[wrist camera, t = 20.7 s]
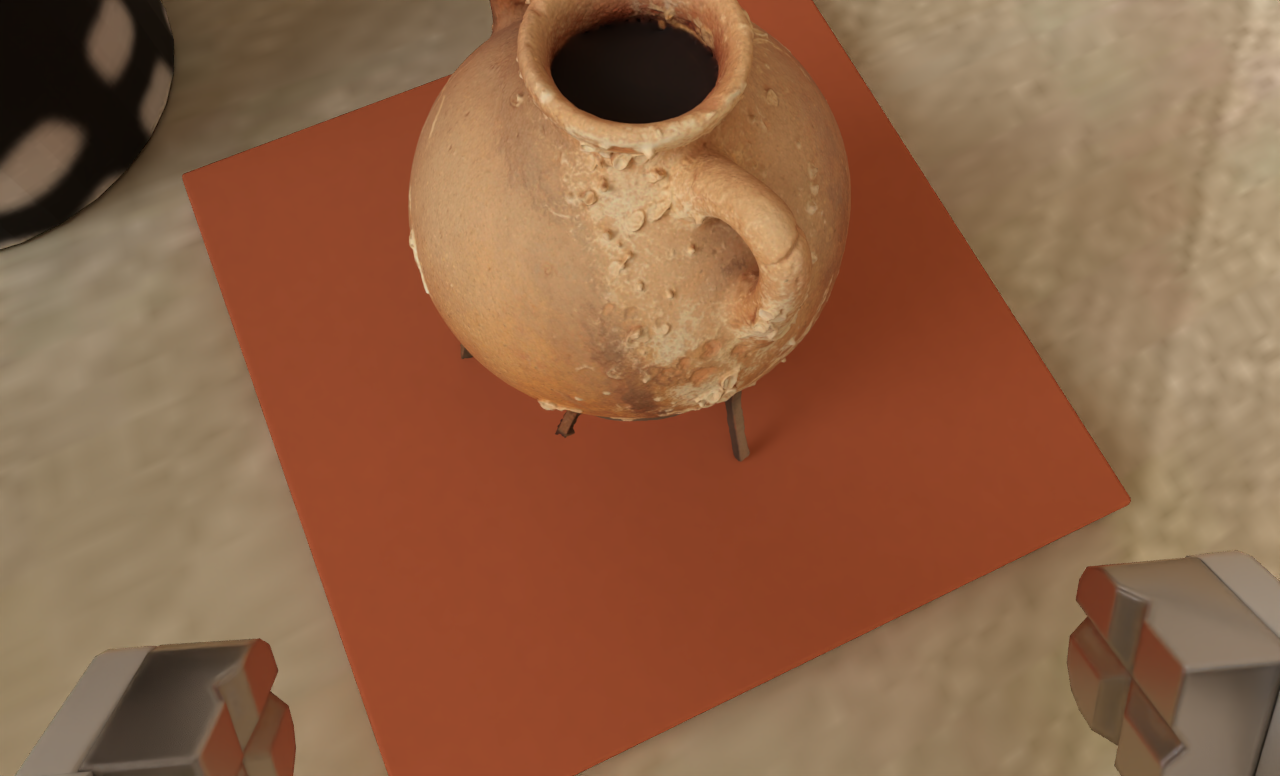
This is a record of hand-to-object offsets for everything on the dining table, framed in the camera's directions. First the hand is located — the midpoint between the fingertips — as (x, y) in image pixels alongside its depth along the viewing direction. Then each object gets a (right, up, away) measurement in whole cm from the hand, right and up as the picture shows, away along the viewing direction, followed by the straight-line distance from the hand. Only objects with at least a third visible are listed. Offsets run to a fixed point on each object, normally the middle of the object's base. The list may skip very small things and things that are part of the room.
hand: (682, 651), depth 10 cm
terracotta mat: (-1, +4, +8) cm, 9 cm away
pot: (-1, +4, +8) cm, 9 cm away
